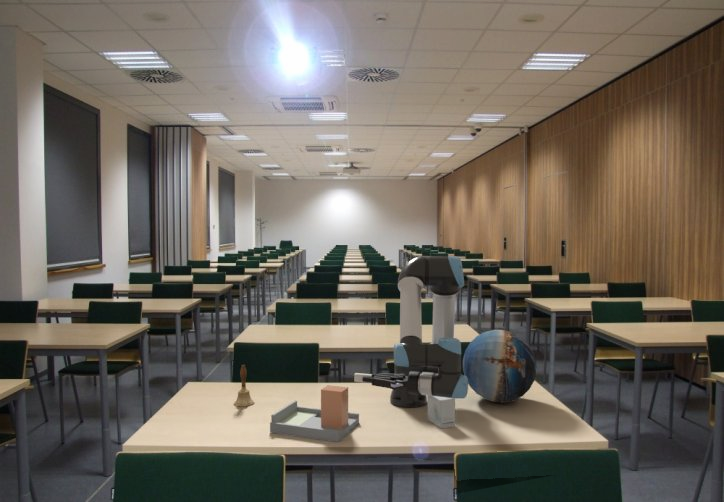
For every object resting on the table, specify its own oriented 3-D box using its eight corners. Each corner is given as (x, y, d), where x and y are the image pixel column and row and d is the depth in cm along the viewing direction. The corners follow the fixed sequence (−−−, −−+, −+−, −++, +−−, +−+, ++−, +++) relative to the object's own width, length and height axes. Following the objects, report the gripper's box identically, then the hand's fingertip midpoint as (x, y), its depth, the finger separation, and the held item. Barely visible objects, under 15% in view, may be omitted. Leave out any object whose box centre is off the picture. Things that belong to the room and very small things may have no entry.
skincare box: (426, 419, 208) (426, 392, 208) (441, 417, 210) (441, 390, 210) (440, 428, 198) (440, 399, 198) (455, 426, 201) (455, 397, 200)
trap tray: (359, 422, 204) (359, 406, 204) (338, 442, 186) (338, 424, 185) (296, 414, 213) (295, 399, 213) (270, 432, 195) (270, 415, 194)
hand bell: (229, 405, 225) (229, 366, 225) (241, 399, 233) (241, 362, 232) (246, 407, 222) (246, 368, 222) (258, 402, 230) (257, 363, 229)
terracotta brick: (348, 423, 198) (348, 387, 198) (341, 428, 193) (341, 391, 192) (327, 420, 201) (327, 385, 201) (321, 426, 195) (320, 389, 195)
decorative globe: (529, 366, 249) (463, 354, 254) (542, 321, 229) (469, 309, 235) (529, 423, 226) (455, 409, 232) (543, 378, 207) (462, 364, 213)
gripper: (415, 399, 179) (348, 392, 187) (425, 389, 191) (361, 383, 199) (415, 376, 179) (348, 370, 187) (425, 367, 191) (361, 362, 199)
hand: (355, 377), depth 193 cm, fingers closed
